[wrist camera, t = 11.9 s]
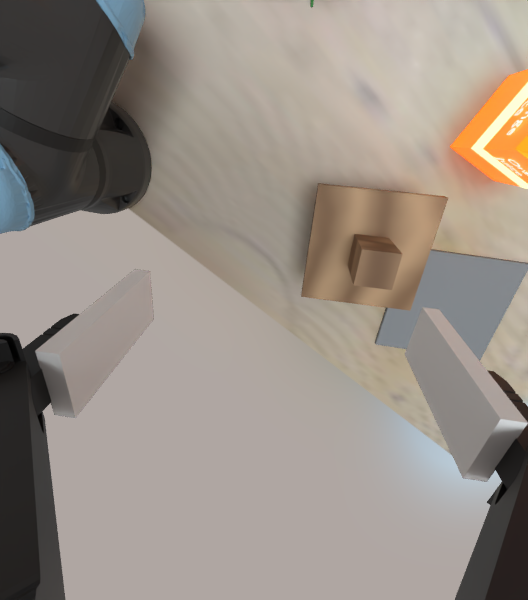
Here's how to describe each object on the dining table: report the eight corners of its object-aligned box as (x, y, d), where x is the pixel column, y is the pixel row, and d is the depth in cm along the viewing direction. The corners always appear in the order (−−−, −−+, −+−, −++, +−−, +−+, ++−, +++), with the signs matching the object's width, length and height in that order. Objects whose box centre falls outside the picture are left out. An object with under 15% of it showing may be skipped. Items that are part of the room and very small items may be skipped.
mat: (375, 342, 54) (375, 344, 54) (406, 246, 46) (407, 247, 46) (477, 358, 53) (479, 360, 52) (527, 263, 45) (530, 264, 45)
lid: (301, 292, 43) (300, 319, 37) (318, 183, 37) (320, 192, 30) (407, 306, 42) (425, 336, 36) (444, 196, 36) (473, 208, 29)
